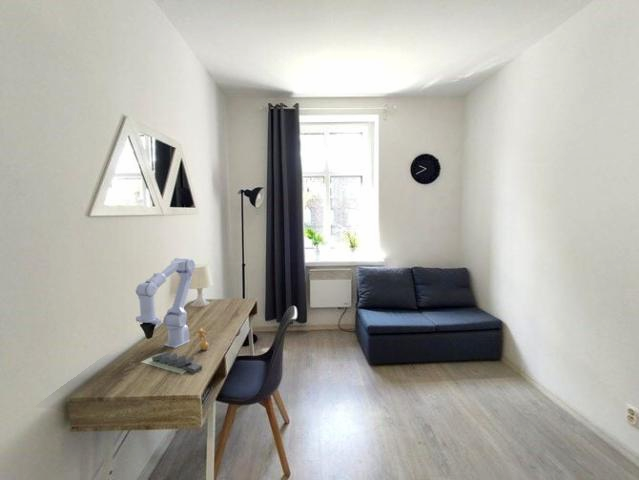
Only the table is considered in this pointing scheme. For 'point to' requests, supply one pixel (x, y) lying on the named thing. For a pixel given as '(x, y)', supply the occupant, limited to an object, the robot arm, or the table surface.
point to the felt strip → (164, 365)
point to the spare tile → (168, 358)
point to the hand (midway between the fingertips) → (149, 338)
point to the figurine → (204, 344)
